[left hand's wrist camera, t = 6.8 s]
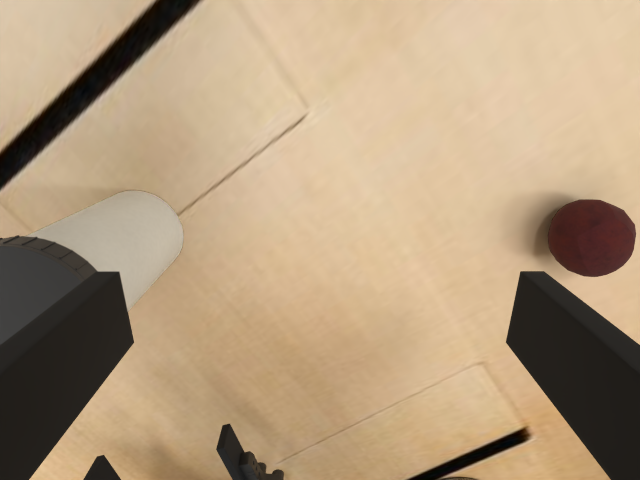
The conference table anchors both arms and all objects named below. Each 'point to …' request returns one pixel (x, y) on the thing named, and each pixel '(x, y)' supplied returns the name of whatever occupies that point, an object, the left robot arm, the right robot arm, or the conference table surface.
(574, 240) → the plum
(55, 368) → the left robot arm
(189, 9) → the conference table surface
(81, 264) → the lid
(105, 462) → the right robot arm
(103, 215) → the jar
